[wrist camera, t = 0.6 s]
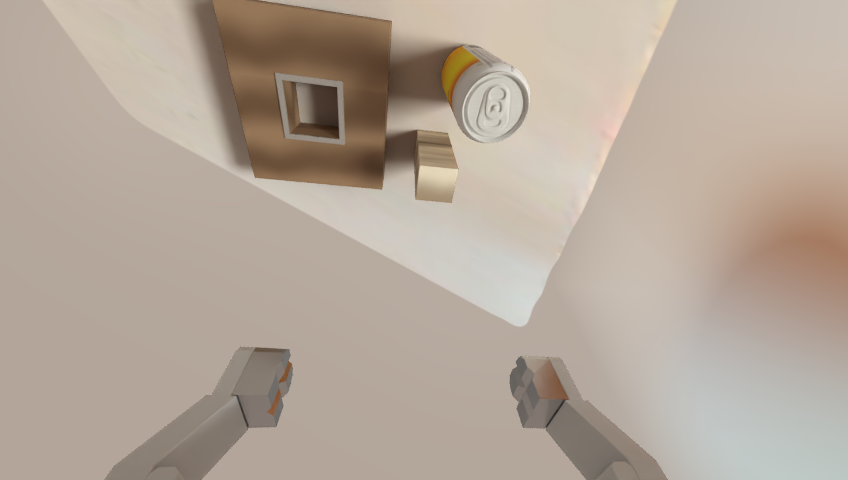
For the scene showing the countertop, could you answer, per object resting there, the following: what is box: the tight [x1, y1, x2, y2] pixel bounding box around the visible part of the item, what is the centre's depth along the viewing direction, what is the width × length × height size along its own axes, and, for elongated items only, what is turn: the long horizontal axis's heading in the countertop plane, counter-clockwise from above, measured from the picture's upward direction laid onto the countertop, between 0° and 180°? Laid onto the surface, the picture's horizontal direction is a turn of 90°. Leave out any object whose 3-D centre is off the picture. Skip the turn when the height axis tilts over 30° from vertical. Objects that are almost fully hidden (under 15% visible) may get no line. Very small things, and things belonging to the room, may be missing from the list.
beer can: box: [441, 45, 530, 143], centre depth 29 cm, size 6×6×15 cm
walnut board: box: [212, 0, 392, 189], centre depth 35 cm, size 18×16×4 cm
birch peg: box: [414, 130, 459, 203], centre depth 36 cm, size 4×4×11 cm
